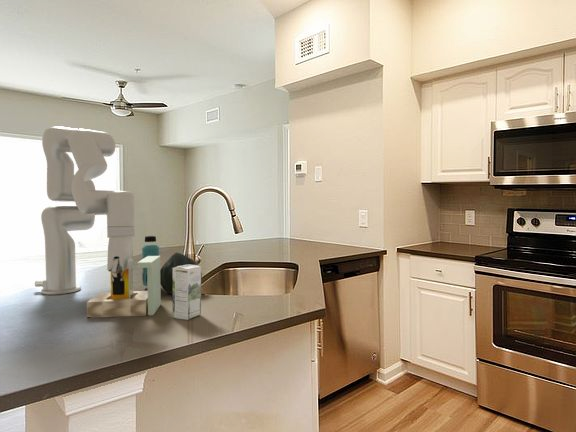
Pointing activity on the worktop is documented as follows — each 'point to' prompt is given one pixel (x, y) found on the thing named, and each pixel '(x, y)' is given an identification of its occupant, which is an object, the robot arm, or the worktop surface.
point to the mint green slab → (152, 281)
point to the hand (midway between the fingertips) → (122, 291)
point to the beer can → (125, 282)
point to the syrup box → (186, 291)
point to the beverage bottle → (149, 254)
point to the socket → (118, 305)
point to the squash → (167, 270)
